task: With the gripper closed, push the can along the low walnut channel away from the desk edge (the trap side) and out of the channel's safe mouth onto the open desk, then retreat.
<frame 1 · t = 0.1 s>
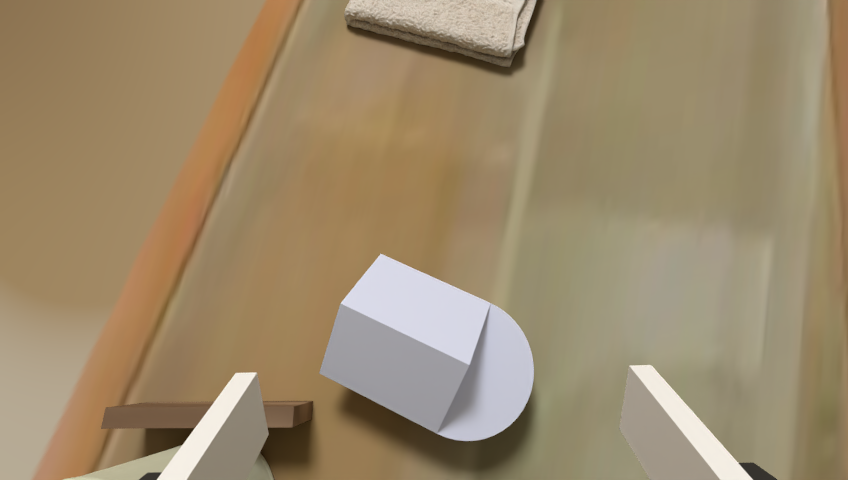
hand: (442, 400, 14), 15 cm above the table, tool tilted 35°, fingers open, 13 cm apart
washcloth: (444, 10, 40), on the table
wedge on round base: (436, 353, 29), on the table
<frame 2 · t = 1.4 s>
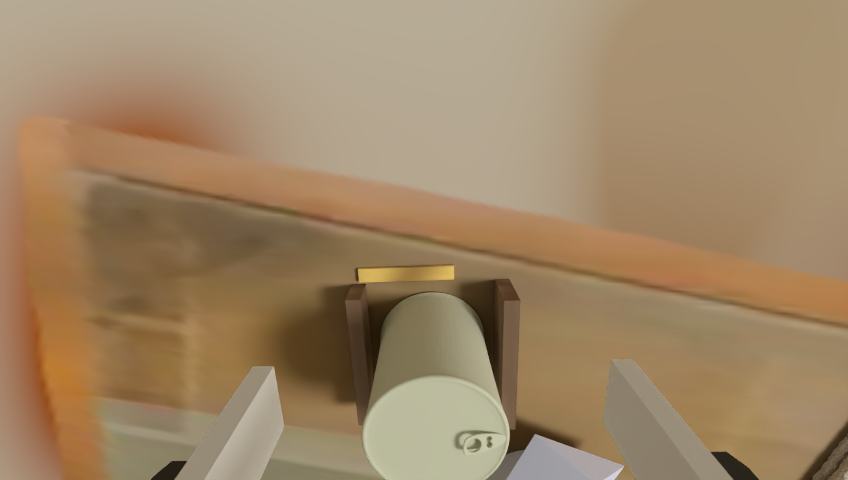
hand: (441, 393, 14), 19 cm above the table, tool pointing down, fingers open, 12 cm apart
channel: (432, 343, 35), on the table
can: (432, 337, 35), on the table
wedge on round base: (535, 468, 40), on the table
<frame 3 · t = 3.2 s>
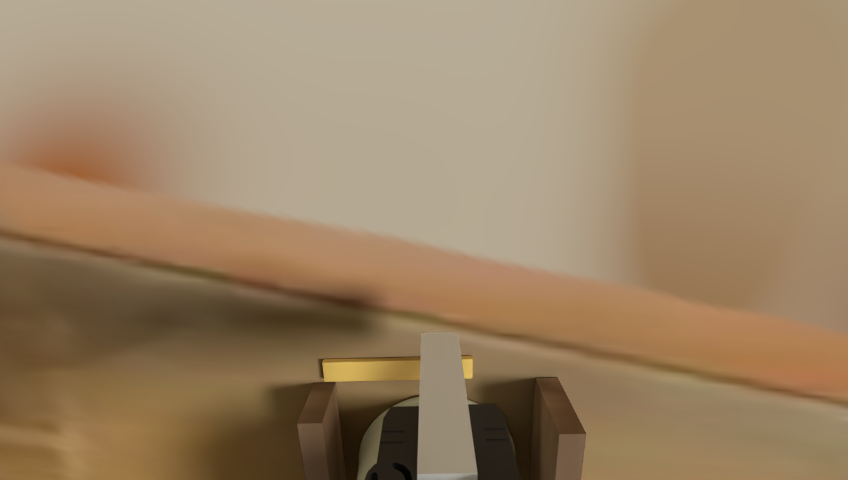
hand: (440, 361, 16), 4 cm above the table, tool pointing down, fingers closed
channel: (437, 465, 23), on the table
can: (437, 455, 23), on the table
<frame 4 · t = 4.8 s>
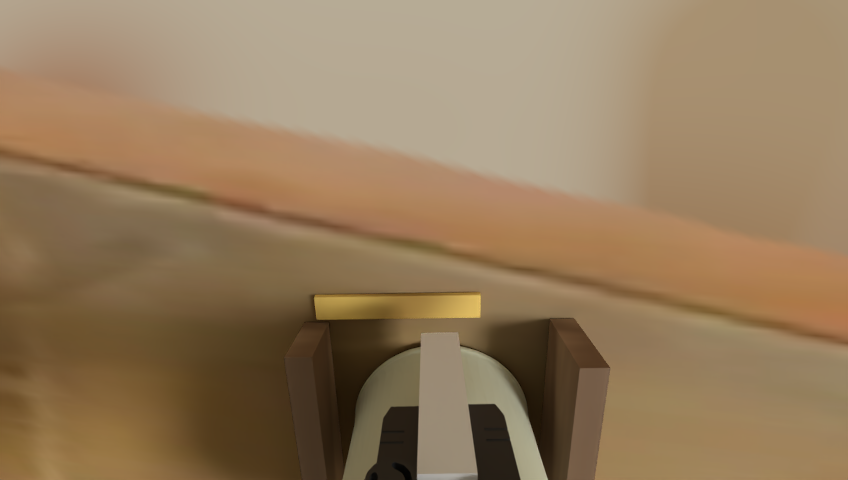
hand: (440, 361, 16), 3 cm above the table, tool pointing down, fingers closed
channel: (439, 418, 21), on the table
can: (441, 414, 21), on the table, touching gripper
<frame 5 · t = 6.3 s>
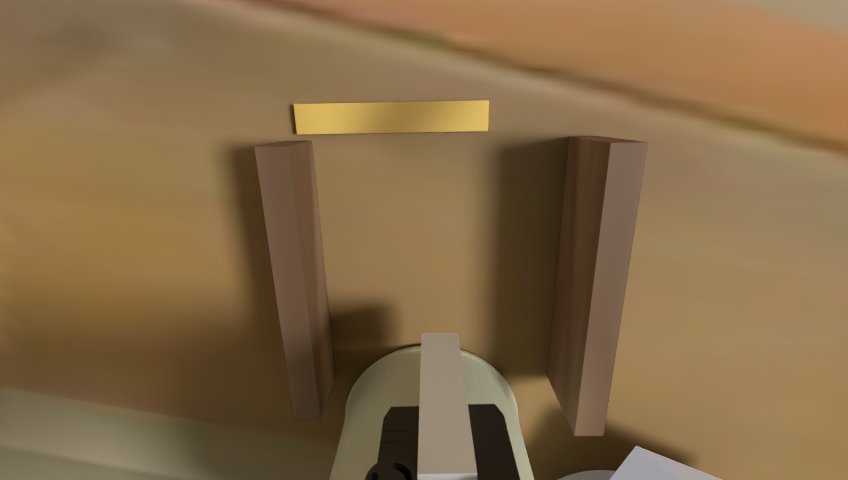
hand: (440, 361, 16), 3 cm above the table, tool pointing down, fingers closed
channel: (440, 269, 19), on the table
can: (431, 415, 21), on the table, touching gripper
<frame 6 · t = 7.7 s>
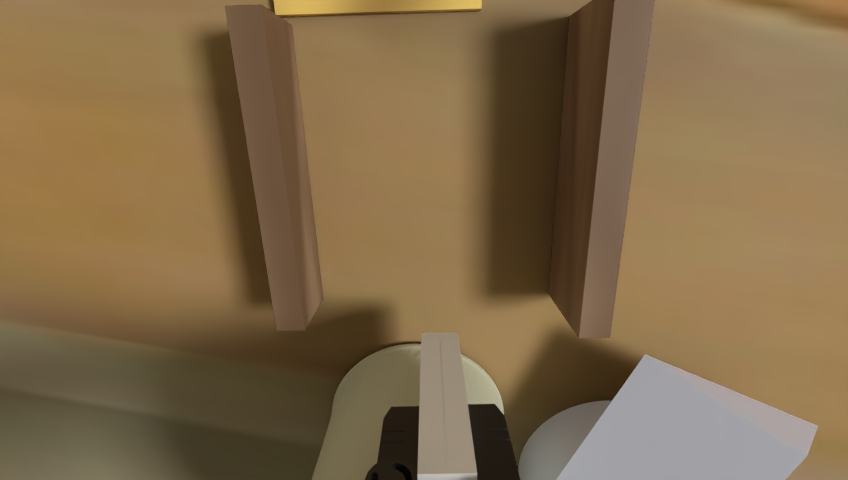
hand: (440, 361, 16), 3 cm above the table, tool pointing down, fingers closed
channel: (432, 172, 17), on the table
can: (417, 413, 21), on the table, touching gripper
wedge on round base: (614, 437, 22), on the table
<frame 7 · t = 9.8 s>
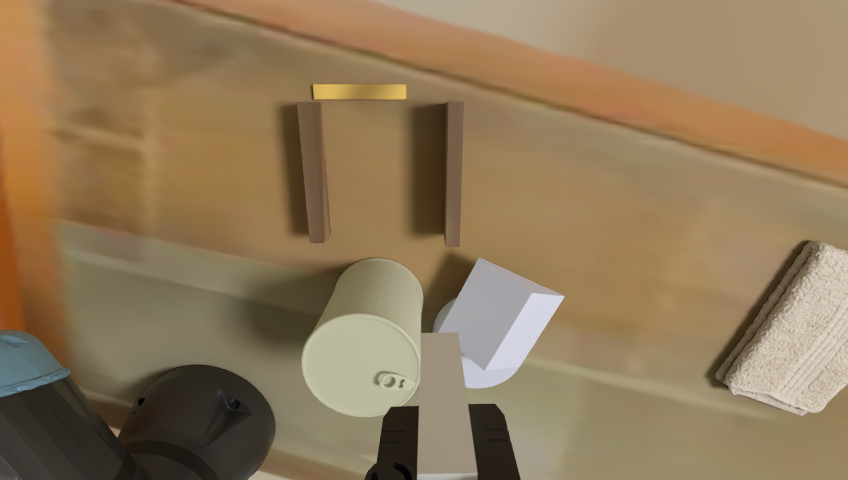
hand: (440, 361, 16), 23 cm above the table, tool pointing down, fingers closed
washcloth: (797, 325, 42), on the table
channel: (385, 171, 36), on the table
can: (378, 298, 41), on the table
wedge on round base: (483, 315, 41), on the table
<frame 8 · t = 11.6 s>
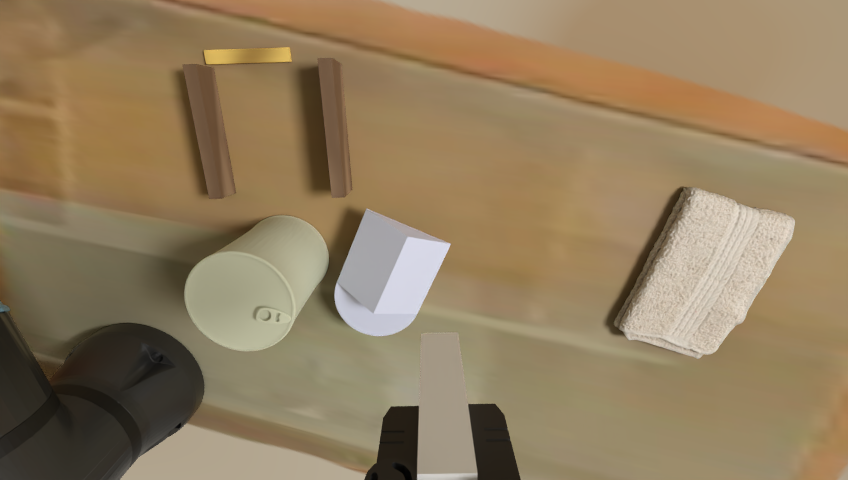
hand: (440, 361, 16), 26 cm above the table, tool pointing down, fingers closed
washcloth: (688, 272, 44), on the table
channel: (280, 131, 39), on the table
can: (287, 254, 43), on the table
wedge on round base: (388, 269, 44), on the table
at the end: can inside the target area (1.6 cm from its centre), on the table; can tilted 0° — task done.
